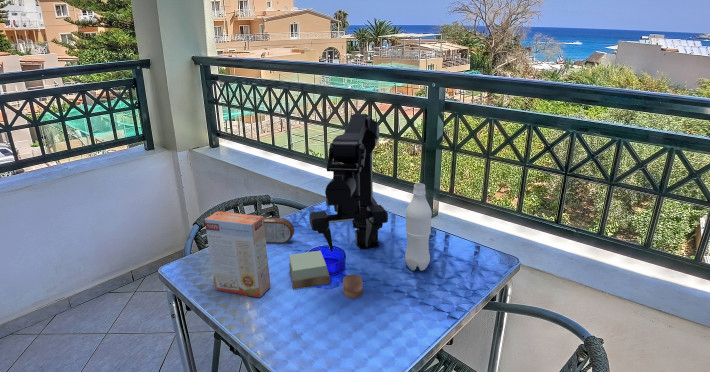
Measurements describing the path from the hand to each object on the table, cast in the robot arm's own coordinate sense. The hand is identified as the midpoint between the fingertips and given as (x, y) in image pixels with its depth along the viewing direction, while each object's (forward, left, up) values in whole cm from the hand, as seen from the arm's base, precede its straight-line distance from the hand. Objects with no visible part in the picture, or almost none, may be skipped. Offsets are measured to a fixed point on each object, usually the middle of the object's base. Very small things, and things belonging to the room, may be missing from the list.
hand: (349, 248), depth 105 cm
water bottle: (-22, -8, -13) cm, 26 cm away
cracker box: (+27, -10, -13) cm, 32 cm away
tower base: (+9, -11, -13) cm, 19 cm away
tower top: (+10, -10, -10) cm, 18 cm away
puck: (-1, 0, -13) cm, 13 cm away
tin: (+18, -36, -13) cm, 42 cm away
